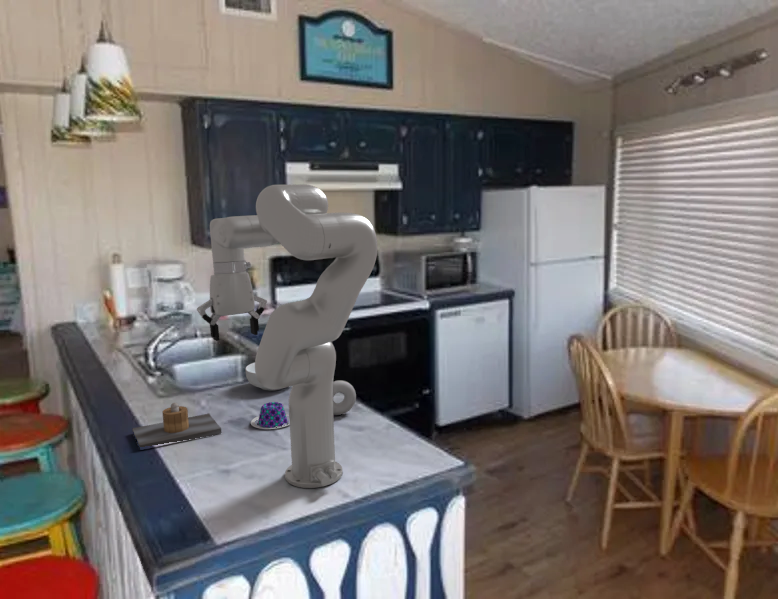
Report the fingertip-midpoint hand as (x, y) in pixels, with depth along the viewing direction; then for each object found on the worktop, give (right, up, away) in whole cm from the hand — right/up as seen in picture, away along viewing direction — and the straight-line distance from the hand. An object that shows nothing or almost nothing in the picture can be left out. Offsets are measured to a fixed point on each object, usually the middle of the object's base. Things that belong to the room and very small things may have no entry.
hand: (235, 337), depth 152 cm
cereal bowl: (+1, -19, +47) cm, 50 cm away
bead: (-18, -25, +8) cm, 31 cm away
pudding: (+6, -25, +16) cm, 30 cm away
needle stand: (-18, -26, +9) cm, 33 cm away
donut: (+24, -23, +20) cm, 39 cm away
